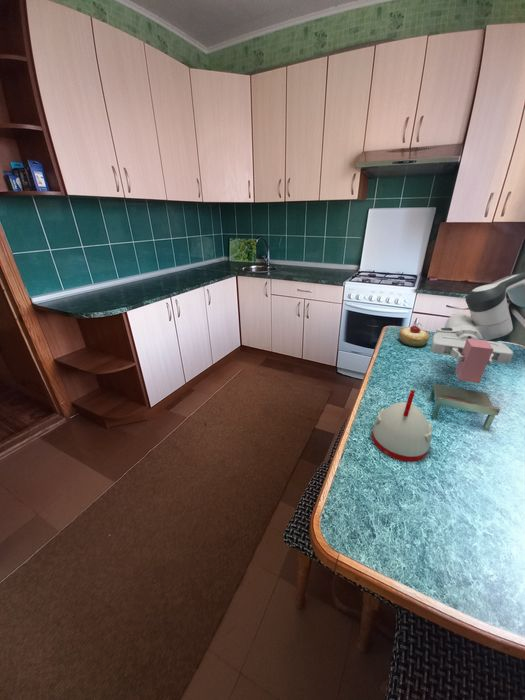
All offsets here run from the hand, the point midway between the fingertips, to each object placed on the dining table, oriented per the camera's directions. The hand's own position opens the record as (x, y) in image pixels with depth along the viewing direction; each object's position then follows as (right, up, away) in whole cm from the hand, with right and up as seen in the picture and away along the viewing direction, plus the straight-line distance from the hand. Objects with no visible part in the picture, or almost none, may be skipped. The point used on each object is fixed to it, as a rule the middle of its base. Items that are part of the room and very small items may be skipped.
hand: (474, 360), depth 81 cm
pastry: (+8, +6, +49) cm, 50 cm away
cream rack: (-1, -16, +6) cm, 17 cm away
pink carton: (0, -5, +4) cm, 6 cm away
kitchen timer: (-23, -21, -3) cm, 31 cm away
